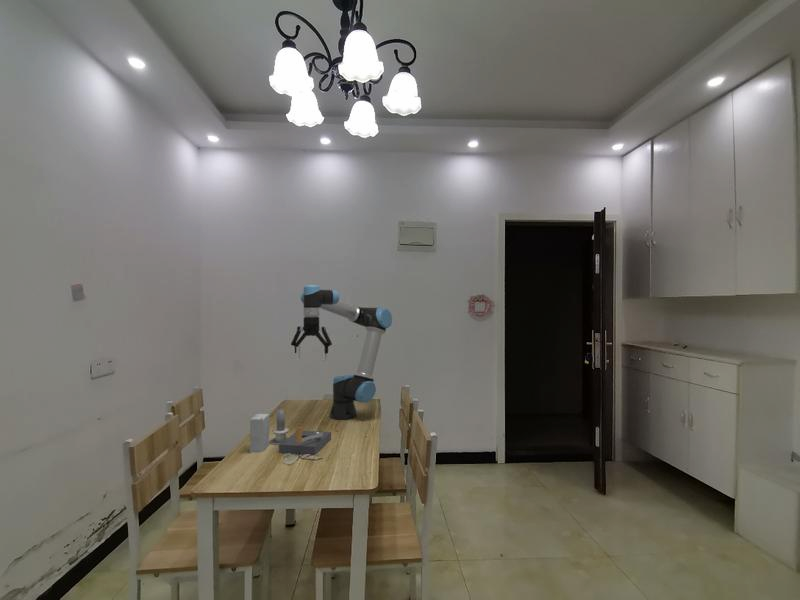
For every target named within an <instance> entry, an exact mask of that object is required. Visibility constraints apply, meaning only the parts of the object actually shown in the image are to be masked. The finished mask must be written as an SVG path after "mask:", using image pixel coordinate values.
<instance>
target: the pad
mask: <svg viewBox="0 0 800 600" xmlns="http://www.w3.org/2000/svg"><path fill="white" fill-rule="evenodd" d="M287 438H288V437H287V436H286V439H287ZM281 443H282V442H281ZM281 443H278V442H276V436H275V437H273V438H272V439H271V440H269V446H270V445H272V446H279V444H281Z"/></svg>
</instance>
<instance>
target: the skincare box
mask: <svg viewBox="0 0 800 600" xmlns="http://www.w3.org/2000/svg"><path fill="white" fill-rule="evenodd" d="M249 423H250V424H249V425H250V428H249V453H250V454H251V453H264V451H265V452H266V450H267V449H268V447H270V445H269V441H270V413H256V414H255V415H254V416H253V417H252V418H250V422H249Z"/></svg>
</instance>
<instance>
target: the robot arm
mask: <svg viewBox="0 0 800 600" xmlns="http://www.w3.org/2000/svg"><path fill="white" fill-rule="evenodd" d="M300 301H301V303H302V304H303V316H304V317H303V326H297V328H296V332H295V335H294V337H293V339H292V341H291V343H290V345H291V346H293V347H294V353H295V354H296V355H295V356H296V361H300V360H301V345H300V344H301V343H302V342H303V341H304V340H305V339H306V338H307V337H309V336H312V337H314V336H315V337H316V338H317V339H318V340H319V342H320V343H321V344H322V345H323V347H322V361H324V362H325V361H327V354H328V353H329V347H330V346H332V345H333V343H332V340H331V339H330V336H329V334H328V332H327V328H326V326H320V317H319V316H320V309H321V310H324V311H327V312H330V313H332V314H335V315H337V316H340V317H342V318H346V319H347V320H348V321H349V322H351V323H354V324H356V325H359V326H362V327H365V329H366V335H365V339H364V344H363V348H362V351H361V354H360V355H361V356H360V360H359V363H358V367H357V371H356V372H355V373H353V374H346V375H338V376H335V377H333V383H332V394H333V395H332V398H333V399H332V400H333V401H332V406H331V409H330V413H329V418H330V419H333V420H343V419H345V420H351V418H352V419H355V418H357V415H358V414H357V413H358V412H357V409H356V405H355V402H358V403H368V402H370V401H371V400H372V399H374V397H375V394H376V390H377V388H376V383H375V382H374V381H375V378H374V377H373V373H374V369H375V365H376V360H377V356H378V352H379V348H380V344H381V340H382V336H383V335H384V334H385V333H386V330H387V329H389V328H390V327H391V326H392V324H393V317H392V314H391V311H390V310H389V309H388V308H386V307H380V306H379V307H363V306H362V307H360V306H357V305H349V304H348V303H345V302H343V301H341V300H340V293H339V292H338V291H337V290H335V289H334V290H333V289H321V288H320V285H316V284H307V285H306V284H305V285H304V286H303V292H302V293H301V295H300ZM302 331H303V333H302ZM320 332H321V333H322V335H323V336H322V335H321V333H320ZM301 333H302V335H301ZM299 337H300V338H299ZM354 417H355V418H354Z"/></svg>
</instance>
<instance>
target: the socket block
mask: <svg viewBox="0 0 800 600" xmlns="http://www.w3.org/2000/svg"><path fill="white" fill-rule="evenodd" d="M315 431H316V430H303V429H302V438H305V437H308V436H312V435H315ZM320 431H321V432H322V433H323V436H320V437H316V438H313V439H310V440H306V441H303V442H300V443H298V442H296V432H294V433H293V434H292V435H290V436H289V437H287V439H286V440H285V441H283V442H282V443H281V444H279V445H278V453H279V454H287V453H291V454H290V455H302V454H312V455H311V456H316V455H317V454H318V453H319V452H320V451H321V450H322V449H323V448H324V447H325V446H326V445H328V444H329V442H331V440H332V432H331V431H322V430H320Z"/></svg>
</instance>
